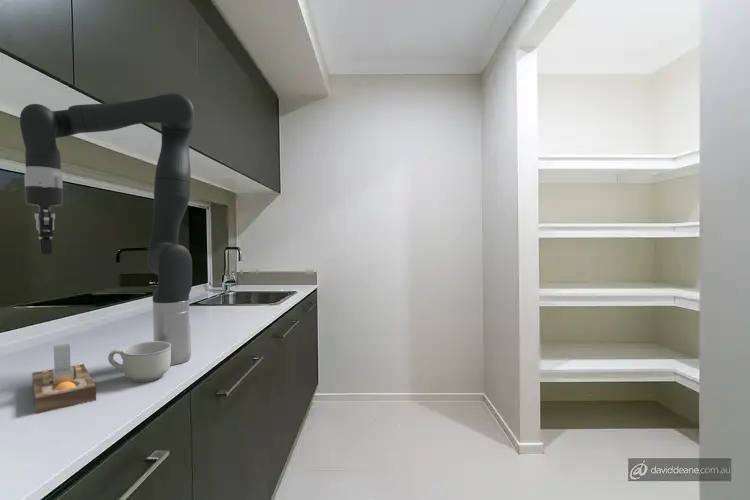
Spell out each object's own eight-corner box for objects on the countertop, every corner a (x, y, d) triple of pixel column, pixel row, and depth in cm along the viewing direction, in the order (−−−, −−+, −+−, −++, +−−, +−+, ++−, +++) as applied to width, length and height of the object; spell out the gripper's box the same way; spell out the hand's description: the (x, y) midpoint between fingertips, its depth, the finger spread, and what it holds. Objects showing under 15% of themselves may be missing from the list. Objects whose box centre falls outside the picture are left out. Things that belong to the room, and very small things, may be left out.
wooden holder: (32, 385, 97) (32, 364, 97) (83, 375, 104) (83, 356, 104) (36, 413, 82) (35, 388, 81) (96, 400, 88) (95, 377, 88)
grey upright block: (52, 379, 92) (51, 346, 92) (72, 376, 94) (71, 343, 94) (53, 384, 89) (52, 349, 89) (73, 380, 91) (73, 346, 91)
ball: (66, 404, 86) (65, 405, 89) (82, 387, 89) (80, 388, 91) (48, 394, 85) (47, 395, 88) (65, 377, 87) (63, 378, 90)
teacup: (179, 370, 108) (178, 340, 108) (158, 385, 97) (158, 352, 97) (125, 371, 107) (124, 341, 107) (98, 386, 97) (98, 352, 96)
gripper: (24, 187, 107) (26, 254, 107) (25, 182, 97) (27, 255, 97) (60, 190, 112) (62, 253, 112) (64, 185, 102) (66, 254, 102)
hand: (46, 254), depth 105 cm, fingers closed
